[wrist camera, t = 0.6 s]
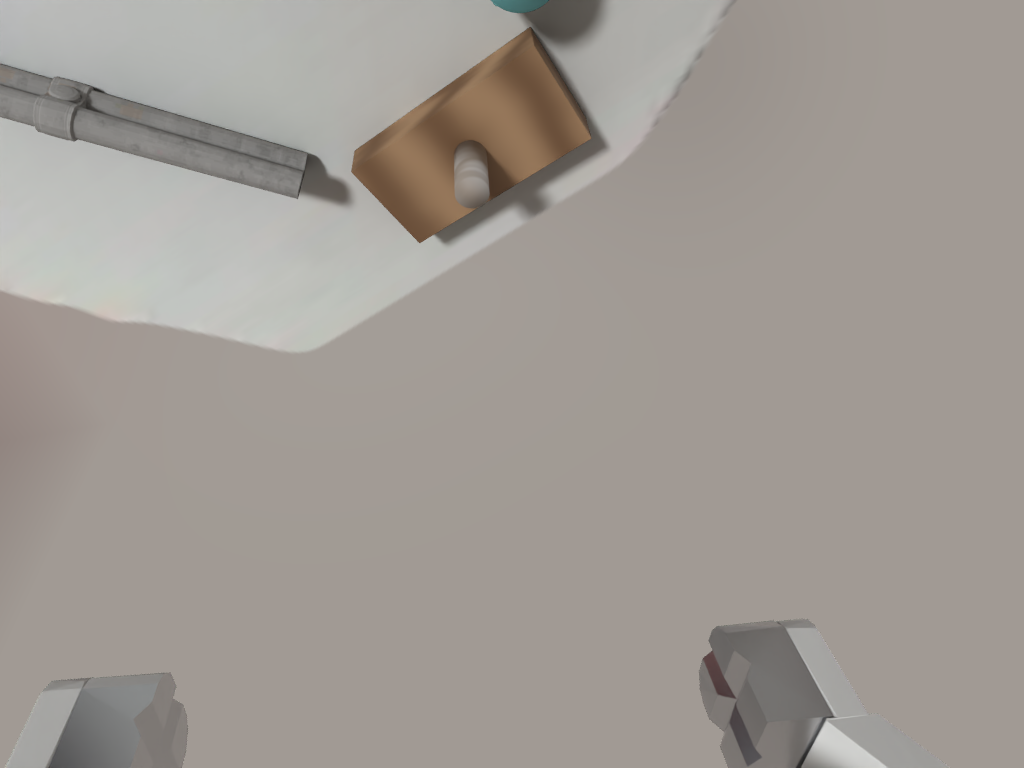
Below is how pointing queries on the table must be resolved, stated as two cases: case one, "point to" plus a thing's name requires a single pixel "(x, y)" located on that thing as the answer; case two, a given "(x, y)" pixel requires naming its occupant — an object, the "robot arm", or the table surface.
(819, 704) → the robot arm
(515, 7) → the cap
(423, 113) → the stud block
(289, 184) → the metal rod assembly
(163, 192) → the table surface
